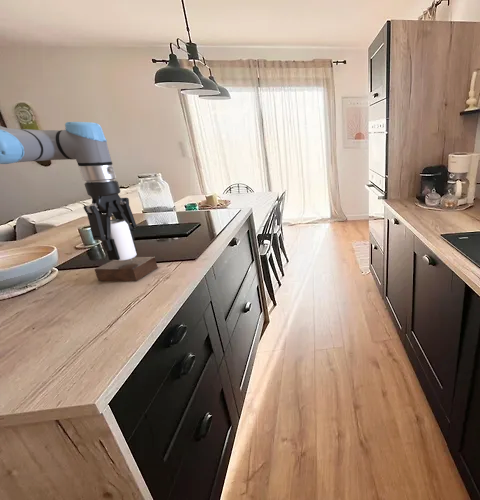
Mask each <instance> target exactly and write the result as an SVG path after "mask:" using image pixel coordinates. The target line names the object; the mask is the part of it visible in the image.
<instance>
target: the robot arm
mask: <svg viewBox="0 0 480 500" xmlns="http://www.w3.org/2000/svg"><path fill="white" fill-rule="evenodd" d="M64 128H65V129H61V130H58V129H57V130H55V129H30V128H29V129H27V128H10V127H9V128H8V127H5V126H2V125H0V165H9V164H15V163H16V164H18V163H26V162H27V163H29V162H41V161H42V162H43V161H60V160H61V161H62V160H75V161H76V163H77V166H78V169H79V172H80V175H81V179H82V181H84V184H83V185H84V189H85V191H86V194H87V195H88V196H89V197H91V203H90V204H89V205H84V206H83V210H84V212H85V213H86V215H87V220H88V223H89V227H90V232H91V236H92V239H93V240H94V241H101V243H102V245H103V250H104V251H105V252H106V254H107V257H108V260H109V261H112V260H119V259H120V257H119V254H118V251H117V248H116V244H115V241H114V239H111V226H110V220H111V218H112V217H114V219H119V220H122V219H125V222H126V223H127V224H128V226H129V229H130V233H131V236H132V240H133V243H134V247H135V250H136V252H137V251H138V249H137V246H136V243H135V237H134V232H135V231H136V228H137V223H136V220H135V217H134V214H133V211H132V209H131V206H130V199H129V198H128V197H121V196H120V193H121V187H120V185H119V181H118V180H116V179H117V175H116V171H115V168H114V165H113V161H112V158H111V154H110V150H109V147H108V140H107V139H106V137H105V133H104V130H103V128H102V126H101V125H100V124H99V123H97V122H91V121H66V122H65V123H64ZM105 235H106V236H105Z"/></svg>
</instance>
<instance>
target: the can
mask: <svg viewBox="0 0 480 500" xmlns="http://www.w3.org/2000/svg"><path fill="white" fill-rule="evenodd" d="M110 226H111V239H114V241H115V244H116V248H117V251H118V254H119V257H120V259H119V260H113V261H126V260H129V259H132V258H134V257H137V251H136V250H135V247H134V243H133V240H132V236H131V233H130V229H129V226H128V224H127V223H126V222H125V219H122V220H119V219H116V218H113V219H110ZM105 236H106V235H105Z"/></svg>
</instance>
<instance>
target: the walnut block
mask: <svg viewBox="0 0 480 500" xmlns="http://www.w3.org/2000/svg"><path fill="white" fill-rule="evenodd" d="M158 268H159V267H158V264H157V261H156V257H155V256H136V257H134V258H132V259H129V260H126V261H113V260H109V262H106V263H104V264H102V265H100V266H98V267H96V268H94V272H95V275H96V278H97V281H98V282H137V281H139V280H141V279H142V278H144V277H146V276H147V275H149V274H150V273H152V272H153V271H155V270H157V269H158Z"/></svg>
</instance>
